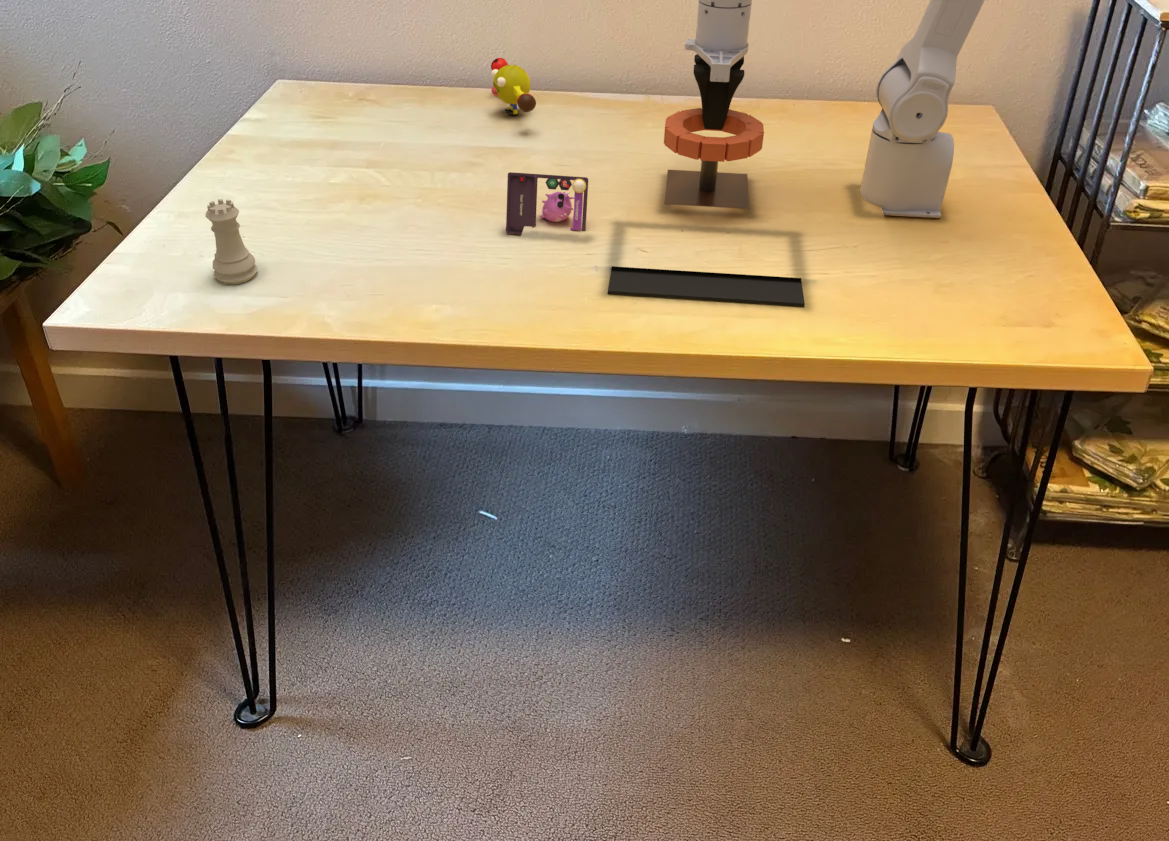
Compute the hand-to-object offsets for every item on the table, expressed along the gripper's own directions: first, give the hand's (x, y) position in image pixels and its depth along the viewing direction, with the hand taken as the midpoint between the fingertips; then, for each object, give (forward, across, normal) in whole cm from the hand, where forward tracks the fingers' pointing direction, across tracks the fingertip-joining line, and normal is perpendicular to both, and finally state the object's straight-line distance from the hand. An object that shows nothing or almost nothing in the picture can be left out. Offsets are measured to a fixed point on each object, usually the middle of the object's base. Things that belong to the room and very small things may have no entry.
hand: (713, 123), depth 114 cm
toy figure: (+9, -24, -28) cm, 38 cm away
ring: (0, +4, 0) cm, 4 cm away
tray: (+9, +17, 0) cm, 19 cm away
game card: (+9, +11, -18) cm, 23 cm away
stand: (+9, 0, 0) cm, 9 cm away
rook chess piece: (+9, +27, -49) cm, 56 cm away
